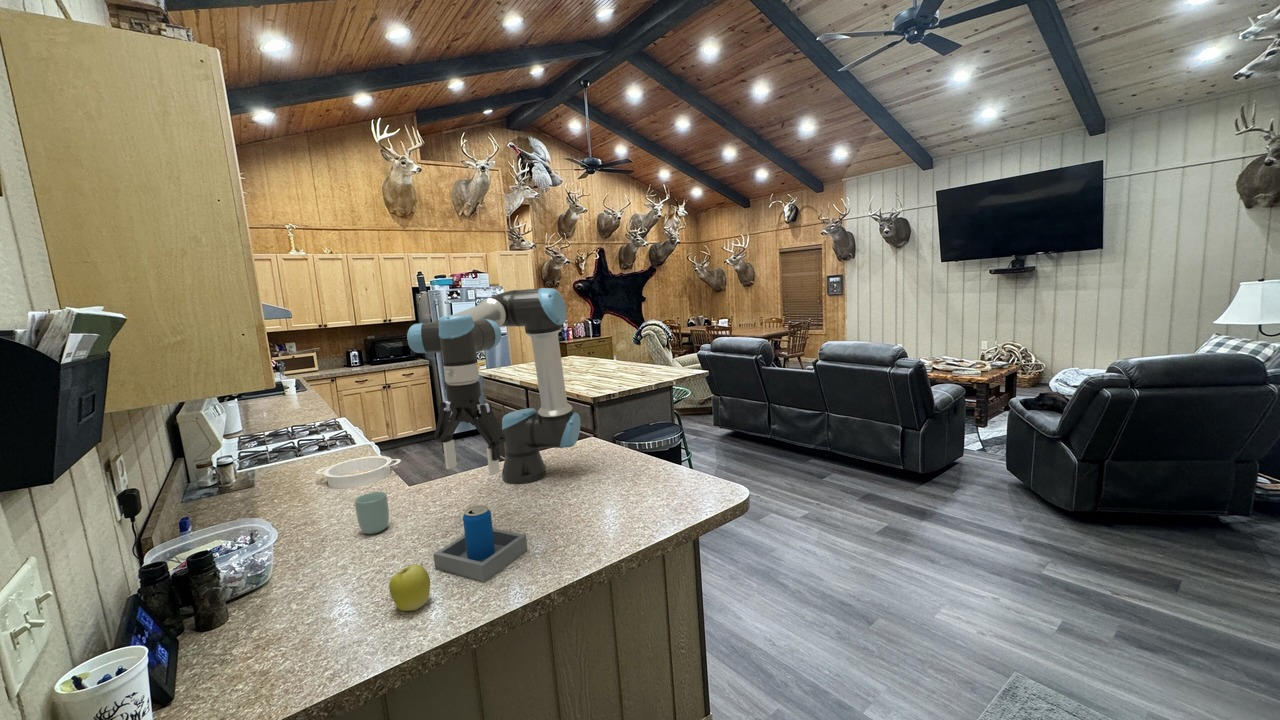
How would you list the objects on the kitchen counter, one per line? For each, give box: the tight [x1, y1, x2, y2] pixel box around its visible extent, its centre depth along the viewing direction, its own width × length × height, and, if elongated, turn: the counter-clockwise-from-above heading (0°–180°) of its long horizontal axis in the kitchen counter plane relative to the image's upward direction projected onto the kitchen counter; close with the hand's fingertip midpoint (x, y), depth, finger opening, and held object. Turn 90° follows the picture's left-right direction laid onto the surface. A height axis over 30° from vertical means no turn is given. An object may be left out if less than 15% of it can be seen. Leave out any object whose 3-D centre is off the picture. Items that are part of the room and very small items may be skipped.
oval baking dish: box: [315, 455, 402, 489], centre depth 191 cm, size 29×22×5 cm
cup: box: [354, 491, 390, 535], centre depth 145 cm, size 8×8×10 cm
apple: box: [388, 564, 431, 612], centre depth 109 cm, size 8×8×10 cm
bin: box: [433, 527, 528, 583], centre depth 126 cm, size 15×15×4 cm
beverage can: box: [462, 504, 495, 562], centre depth 125 cm, size 6×6×12 cm
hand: (472, 470), depth 123 cm, fingers open, 13 cm apart
